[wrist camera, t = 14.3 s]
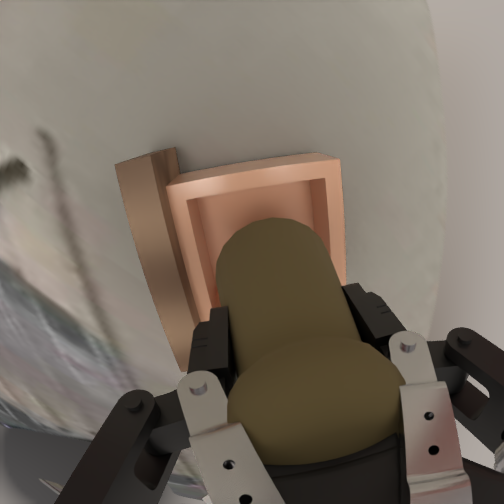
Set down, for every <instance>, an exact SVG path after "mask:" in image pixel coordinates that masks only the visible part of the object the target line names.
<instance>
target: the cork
mask: <svg viewBox="0 0 504 504" xmlns="http://www.w3.org/2000/svg"><path fill="white" fill-rule="evenodd" d="M215 279H216V284H217V289H218V294H219V299H220V303H221V307H223V306H228V316H229V327H230V336H231V346H232V355H233V362H234V366H235V370H236V375H237V381H236V383H235V384H234V386H233V388H232V389H231V391H230V393H229V395H228V398H227V399H228V403H227V422H228V423H229V424H230V423H233V422H235V421H239V422H240V423H241V424H242V426H243V428H244V430H245V432H246V434H247V436H248V438H249V440H250V442H251V443H252V445H253V447H254V449H255V451H256V453H257V455H258V456H259V458H260V460H261V462H262V464H264V465H302V464H311V463H317V462H323V461H328V460H332V459H336V458H340V457H343V456H347V455H350V454H353V453H356V452H358V451H361V450H363V449H366V448H368V447H370V446H372V445H374V444H376V443H378V442H380V441H382V440H383V439H385V438H387V437H389V436H390V435H392V434H394V433H395V432H396V433H397V435H398V438H399V429H398V422H399V416H400V388H399V386H400V385H405V384H406V382H405V379H404V378H403V376H402V375H401V373H400V371H399V370H398V368H397V367H396V365H394V364H393V363H392V362H391V361H390V360H388V359H387V358H386V357H385V356H384V355H382V354H381V353H380V352H379V351H377V350H376V349H375V348H374V347H372V346H371V345H370V344H368V343H364V342H362V340H361V337H360V334H359V332H358V329H357V326H356V323H355V320H354V318H353V315H352V313H351V310H350V307H349V305H348V302H347V300H346V298H345V295H344V293H343V290H342V288H341V286H342V285H341V283H340V280H339V278H338V275H337V273H336V270H335V268H334V265H333V263H332V260H331V258H330V255H329V253H328V251H327V249H326V247H325V245H324V243H323V241H322V239H321V237H319V236H318V235H317V234H316V233H315V232H314V231H313V230H312V229H311V228H310V227H309V226H307V225H304V224H302V223H300V222H297V221H295V220H293V219H286V218H274V217H272V218H267V219H263V220H258V221H254V222H252V223H250V224H248V225H246V226H245V227H243V228H241V229H240V230H238V231H236V232H235V233H234V234H233V235H232V237H231V238H230V239H229V240H228V241H227V242H226V243H225V244H224V246H223V248H222V250H221V252H220V255H219V257H218V259H217V262H216V278H215Z"/></svg>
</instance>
